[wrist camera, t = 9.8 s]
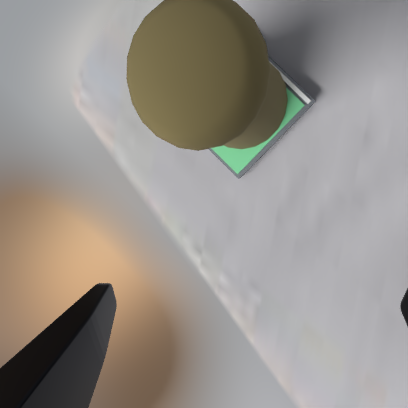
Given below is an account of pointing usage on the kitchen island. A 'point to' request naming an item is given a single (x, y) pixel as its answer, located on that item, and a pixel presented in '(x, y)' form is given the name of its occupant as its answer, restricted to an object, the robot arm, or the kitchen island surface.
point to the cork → (204, 76)
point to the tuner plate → (245, 158)
